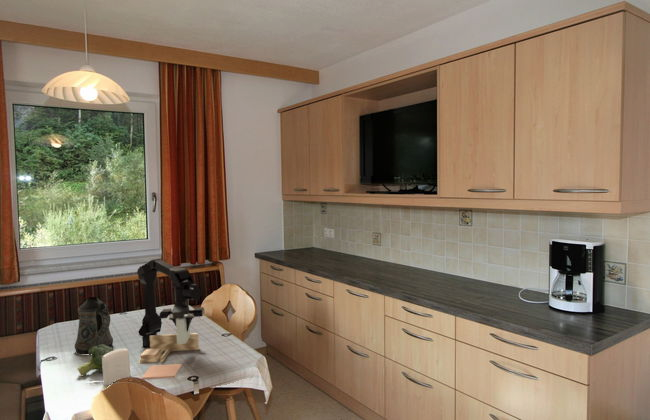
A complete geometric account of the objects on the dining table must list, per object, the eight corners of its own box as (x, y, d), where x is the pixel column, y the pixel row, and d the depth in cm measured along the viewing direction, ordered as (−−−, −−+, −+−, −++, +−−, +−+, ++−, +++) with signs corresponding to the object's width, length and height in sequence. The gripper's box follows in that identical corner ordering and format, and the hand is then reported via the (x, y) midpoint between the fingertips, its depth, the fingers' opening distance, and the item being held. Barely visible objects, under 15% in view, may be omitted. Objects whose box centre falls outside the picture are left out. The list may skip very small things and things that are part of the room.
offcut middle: (139, 362, 191) (139, 359, 191) (145, 355, 199) (145, 352, 199) (156, 361, 192) (156, 358, 192) (161, 354, 200) (161, 351, 200)
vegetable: (78, 364, 188) (112, 342, 193) (91, 389, 183) (125, 366, 189) (67, 356, 177) (103, 334, 183) (80, 383, 173) (116, 359, 178)
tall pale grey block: (177, 344, 193) (175, 319, 193) (182, 337, 202) (181, 313, 202) (185, 343, 194) (184, 319, 193) (189, 336, 203) (188, 313, 202)
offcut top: (140, 358, 192) (140, 355, 192) (146, 352, 199) (146, 349, 199) (155, 357, 192) (155, 354, 192) (160, 351, 199) (160, 348, 199)
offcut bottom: (138, 366, 191) (138, 363, 191) (145, 358, 200) (145, 355, 200) (157, 365, 191) (157, 362, 191) (163, 357, 200) (163, 354, 200)
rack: (140, 364, 190) (139, 346, 190) (151, 352, 205) (150, 335, 204) (191, 362, 192) (191, 344, 191) (198, 349, 206) (198, 333, 206)
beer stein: (88, 343, 220) (85, 293, 219) (125, 342, 219) (123, 293, 217) (66, 355, 203) (63, 302, 202) (107, 355, 202) (104, 302, 201)
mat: (141, 379, 176) (141, 377, 176) (151, 366, 188) (151, 365, 188) (174, 377, 177) (174, 375, 177) (182, 365, 189) (181, 363, 189)
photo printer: (106, 386, 170) (104, 355, 169) (101, 383, 172) (99, 353, 172) (132, 377, 178) (130, 347, 177) (127, 374, 180) (125, 345, 180)
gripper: (154, 303, 188) (156, 338, 189) (198, 301, 190) (200, 336, 190) (162, 296, 199) (164, 330, 200) (204, 294, 201) (205, 328, 201)
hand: (183, 331), depth 198 cm, fingers closed on tall pale grey block, 3 cm apart
